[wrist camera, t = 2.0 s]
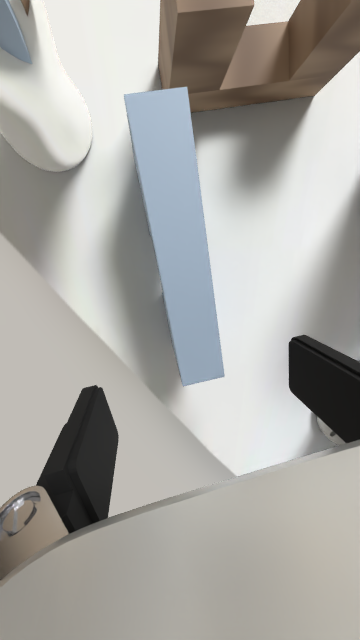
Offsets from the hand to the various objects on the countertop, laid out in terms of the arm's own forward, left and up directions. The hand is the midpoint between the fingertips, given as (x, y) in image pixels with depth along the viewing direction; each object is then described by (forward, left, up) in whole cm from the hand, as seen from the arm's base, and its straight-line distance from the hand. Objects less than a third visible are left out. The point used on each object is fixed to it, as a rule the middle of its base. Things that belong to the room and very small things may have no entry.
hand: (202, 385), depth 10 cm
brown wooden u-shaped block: (+18, -8, -11) cm, 22 cm away
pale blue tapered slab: (+6, -1, -11) cm, 12 cm away
